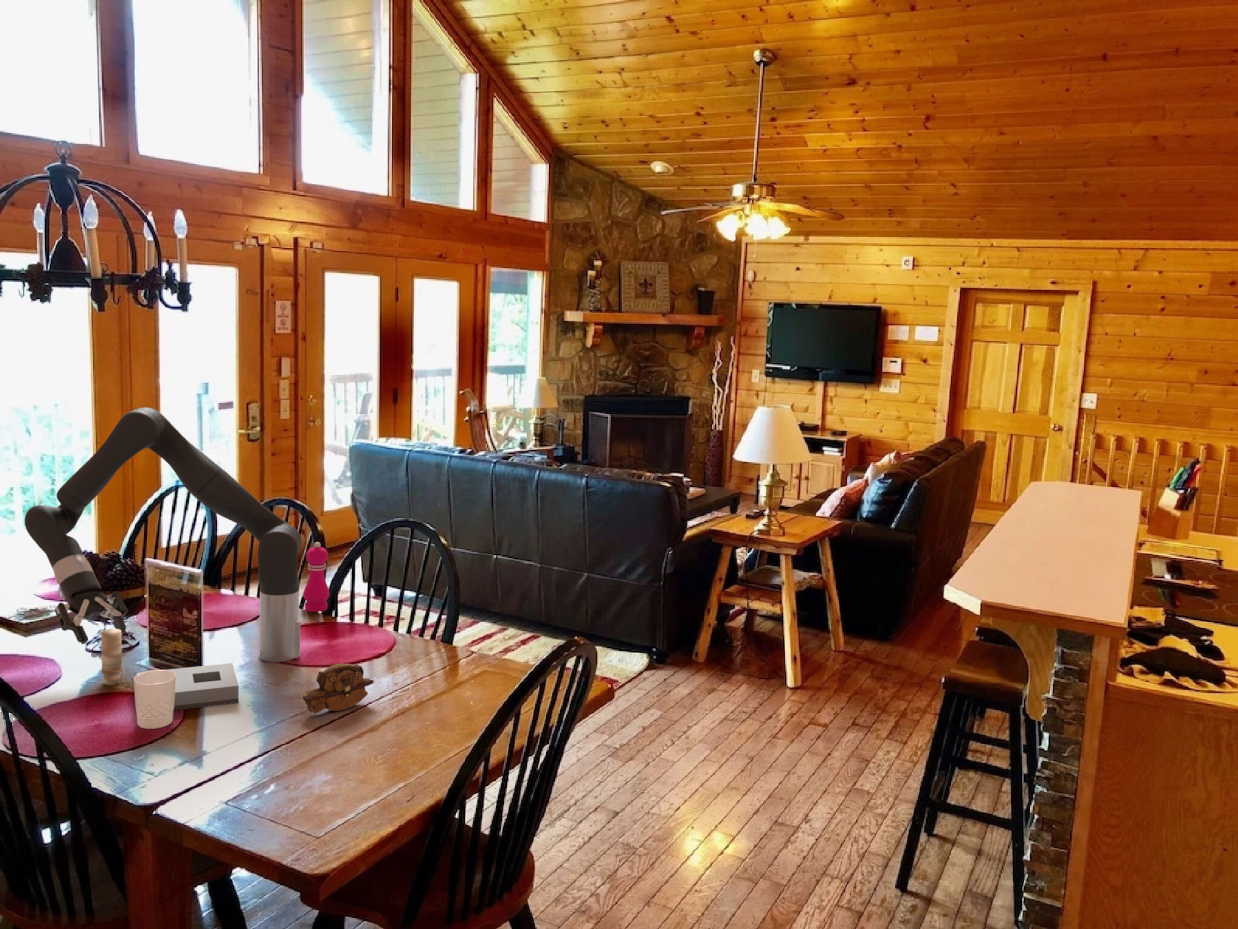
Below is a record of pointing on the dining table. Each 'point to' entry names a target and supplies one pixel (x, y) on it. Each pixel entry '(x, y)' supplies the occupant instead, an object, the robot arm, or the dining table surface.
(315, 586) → the pepper mill
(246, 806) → the dining table surface
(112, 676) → the birch peg
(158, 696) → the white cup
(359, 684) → the wooden carving
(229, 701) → the socket board
